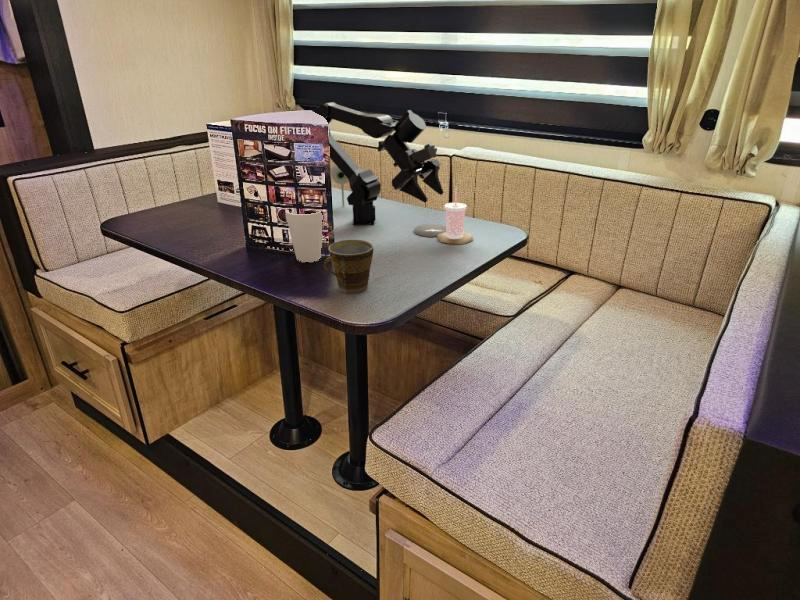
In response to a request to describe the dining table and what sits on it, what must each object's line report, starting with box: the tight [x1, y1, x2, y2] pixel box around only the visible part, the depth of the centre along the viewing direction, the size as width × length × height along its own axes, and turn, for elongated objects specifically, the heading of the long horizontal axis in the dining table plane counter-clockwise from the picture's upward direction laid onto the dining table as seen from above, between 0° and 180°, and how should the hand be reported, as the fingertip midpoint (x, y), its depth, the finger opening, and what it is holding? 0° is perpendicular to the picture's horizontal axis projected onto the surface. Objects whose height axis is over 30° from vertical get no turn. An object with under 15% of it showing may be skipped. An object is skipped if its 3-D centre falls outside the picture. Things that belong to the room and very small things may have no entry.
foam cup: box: [284, 209, 324, 263], centre depth 139 cm, size 10×9×13 cm
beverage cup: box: [444, 186, 467, 239], centre depth 151 cm, size 6×6×14 cm
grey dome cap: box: [413, 223, 446, 238], centre depth 160 cm, size 10×10×1 cm
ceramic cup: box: [323, 239, 375, 295], centre depth 121 cm, size 13×10×10 cm
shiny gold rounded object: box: [436, 231, 473, 245], centre depth 154 cm, size 10×10×1 cm
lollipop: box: [330, 164, 349, 207], centre depth 182 cm, size 7×7×15 cm
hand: (434, 197), depth 152 cm, fingers open, 9 cm apart
